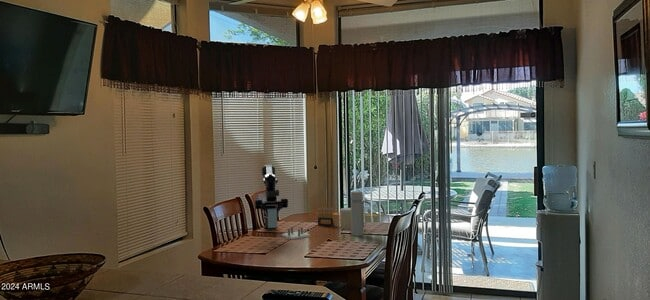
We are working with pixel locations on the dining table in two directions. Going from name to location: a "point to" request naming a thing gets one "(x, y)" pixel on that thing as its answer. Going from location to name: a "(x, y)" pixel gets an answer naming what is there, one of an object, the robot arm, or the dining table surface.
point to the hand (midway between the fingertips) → (272, 215)
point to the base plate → (295, 234)
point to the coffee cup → (345, 218)
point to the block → (272, 218)
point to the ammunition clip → (325, 217)
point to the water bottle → (357, 213)
